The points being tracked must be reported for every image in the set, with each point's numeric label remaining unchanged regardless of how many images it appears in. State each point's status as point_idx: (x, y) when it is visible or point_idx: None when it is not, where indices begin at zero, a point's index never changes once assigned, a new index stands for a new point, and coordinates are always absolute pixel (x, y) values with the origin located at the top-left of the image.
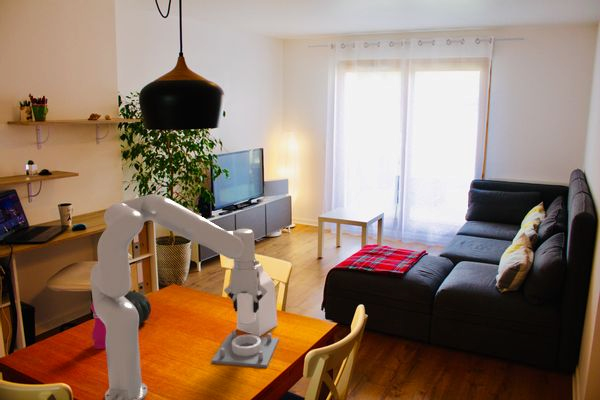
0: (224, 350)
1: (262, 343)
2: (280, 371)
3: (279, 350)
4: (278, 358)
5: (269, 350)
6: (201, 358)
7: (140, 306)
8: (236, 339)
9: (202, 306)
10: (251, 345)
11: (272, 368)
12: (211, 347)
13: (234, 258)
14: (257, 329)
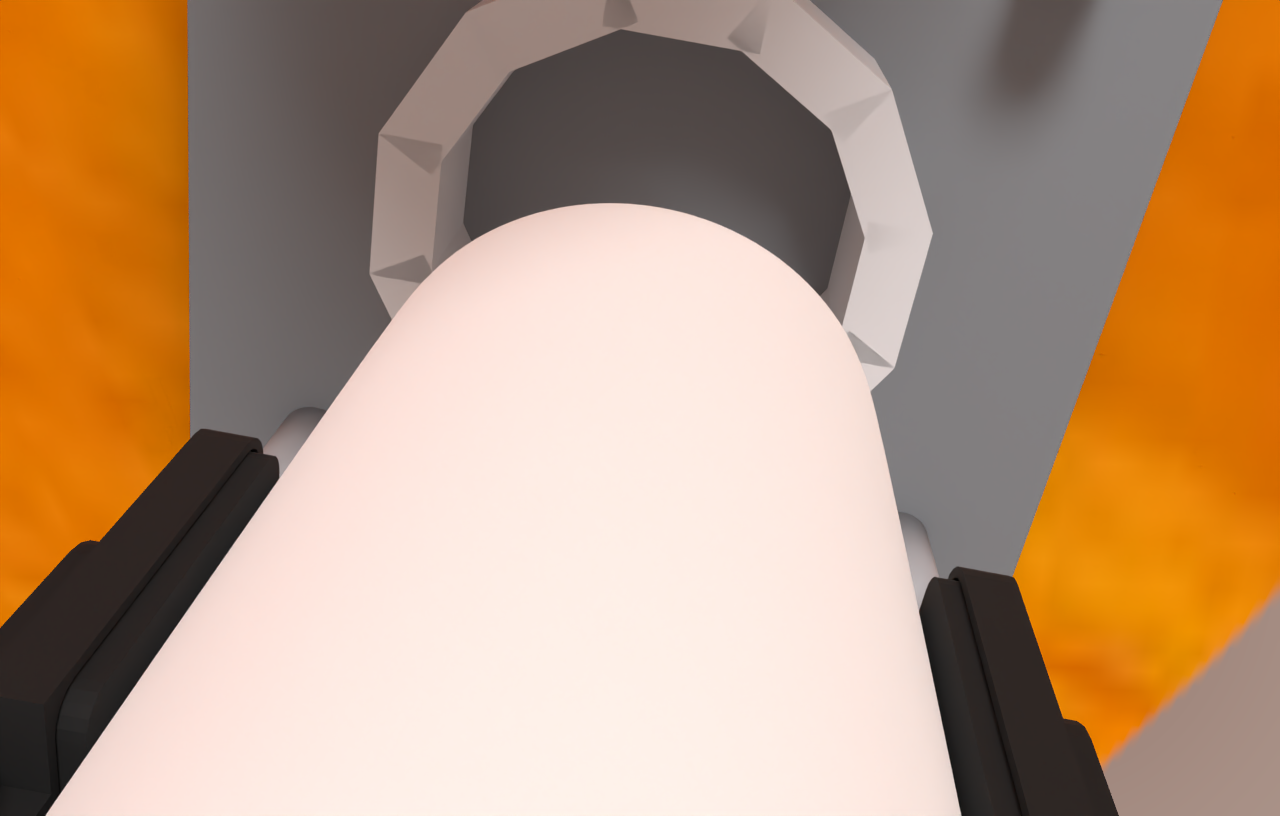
0: (292, 254)
1: (938, 13)
2: (1145, 719)
3: (1226, 178)
4: (1167, 423)
5: (1052, 280)
6: (20, 381)
7: None
8: (439, 181)
9: None
10: (730, 91)
11: (1046, 654)
12: (32, 46)
13: None
14: None
